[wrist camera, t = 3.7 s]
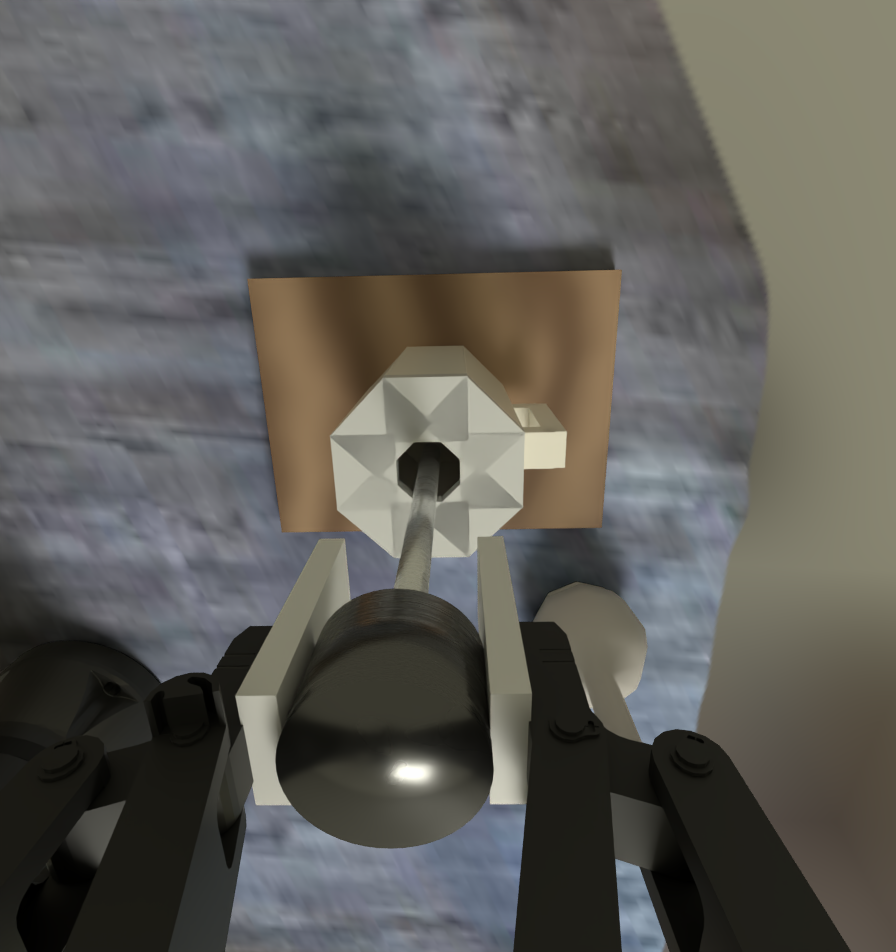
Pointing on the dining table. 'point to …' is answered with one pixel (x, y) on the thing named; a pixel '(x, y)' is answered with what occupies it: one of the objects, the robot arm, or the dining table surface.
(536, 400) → the board
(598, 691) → the potion bottle
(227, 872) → the robot arm
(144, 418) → the dining table surface
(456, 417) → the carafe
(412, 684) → the plunger
